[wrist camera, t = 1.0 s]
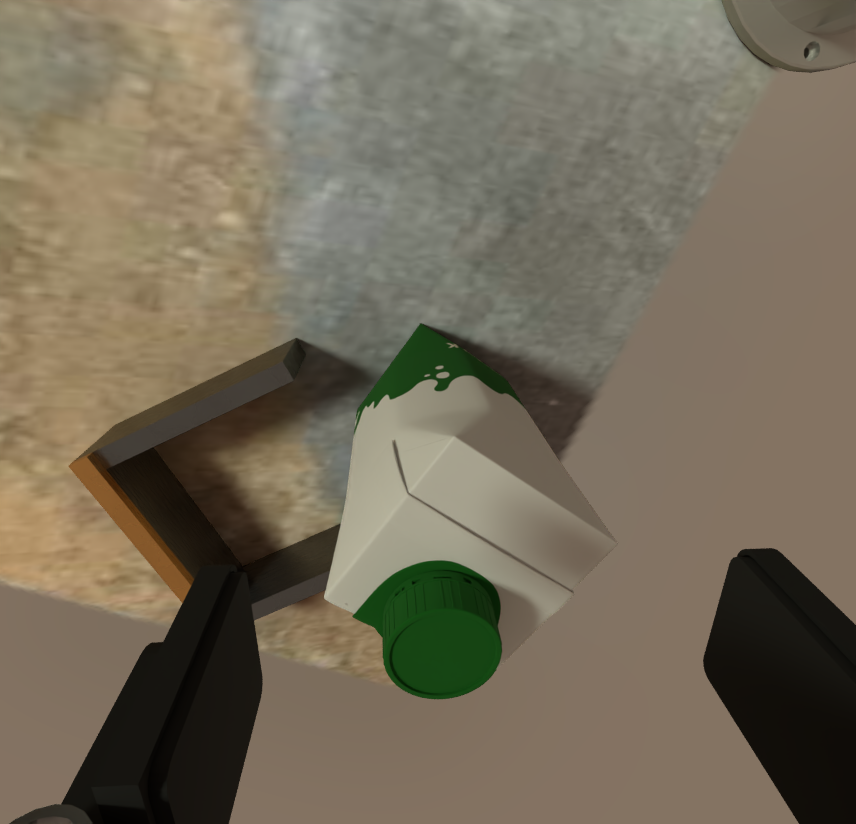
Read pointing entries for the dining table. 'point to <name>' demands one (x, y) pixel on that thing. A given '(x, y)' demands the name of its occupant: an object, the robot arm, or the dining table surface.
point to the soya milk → (456, 521)
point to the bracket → (175, 510)
